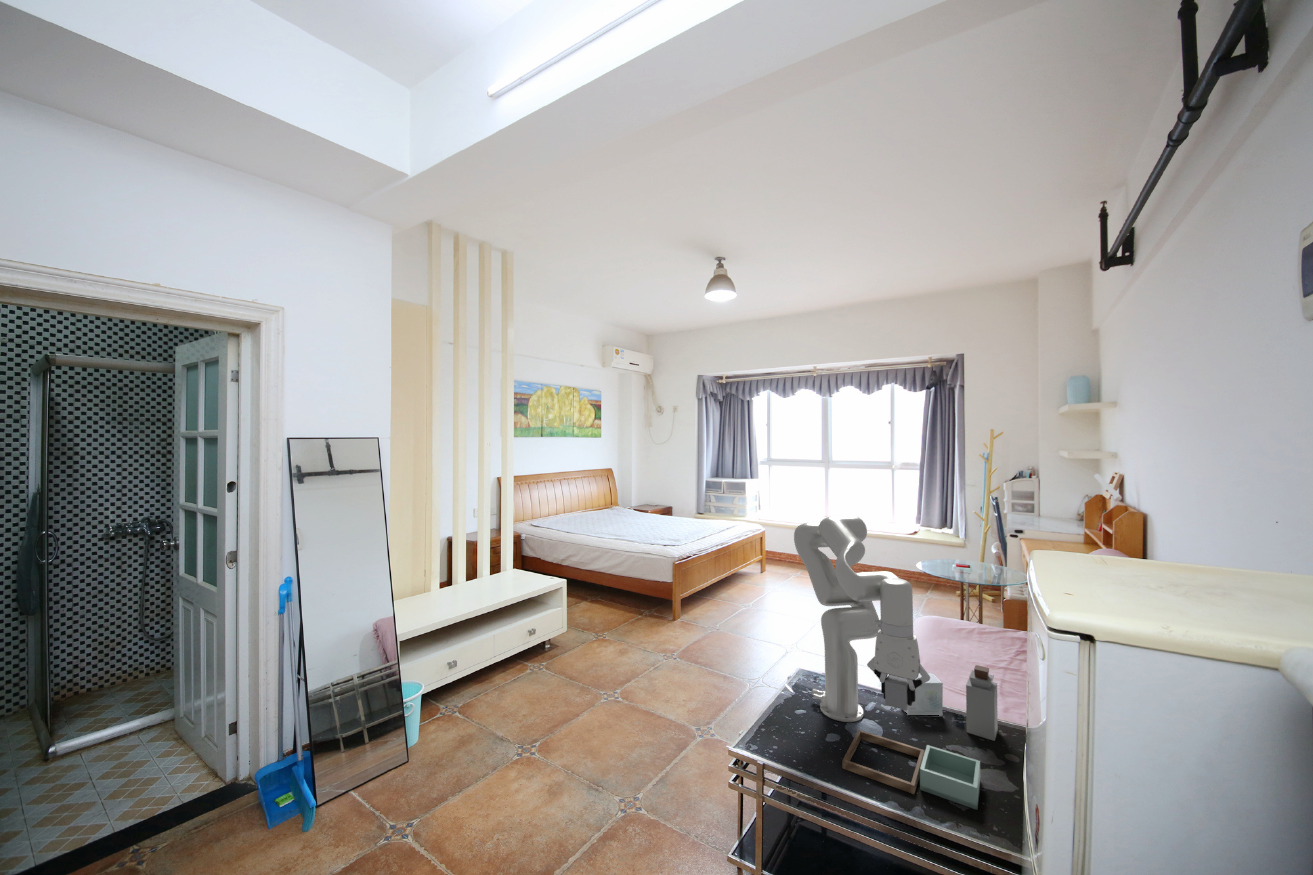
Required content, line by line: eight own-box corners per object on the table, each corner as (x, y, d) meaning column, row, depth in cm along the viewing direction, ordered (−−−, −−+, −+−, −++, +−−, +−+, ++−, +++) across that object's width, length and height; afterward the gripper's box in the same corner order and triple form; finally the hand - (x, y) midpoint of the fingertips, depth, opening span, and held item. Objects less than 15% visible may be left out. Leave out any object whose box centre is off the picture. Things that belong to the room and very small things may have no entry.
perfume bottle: (970, 721, 150) (969, 661, 150) (997, 729, 146) (997, 667, 146) (966, 732, 145) (966, 669, 145) (994, 741, 141) (994, 676, 141)
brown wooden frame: (842, 768, 130) (842, 760, 130) (858, 736, 143) (858, 729, 143) (914, 794, 120) (914, 785, 120) (924, 757, 134) (924, 750, 134)
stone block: (885, 704, 129) (884, 680, 129) (889, 696, 133) (889, 673, 133) (906, 710, 126) (906, 686, 126) (910, 702, 130) (910, 678, 130)
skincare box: (908, 716, 153) (908, 682, 153) (899, 705, 160) (898, 672, 160) (943, 716, 153) (943, 682, 153) (932, 705, 159) (932, 672, 159)
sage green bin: (920, 789, 122) (920, 768, 122) (927, 763, 131) (927, 744, 131) (977, 809, 115) (977, 787, 115) (980, 781, 124) (980, 760, 124)
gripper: (858, 626, 132) (859, 696, 131) (931, 640, 122) (933, 716, 121) (865, 617, 138) (867, 685, 137) (936, 631, 128) (938, 703, 127)
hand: (898, 699), depth 129 cm, fingers closed on stone block, 5 cm apart
